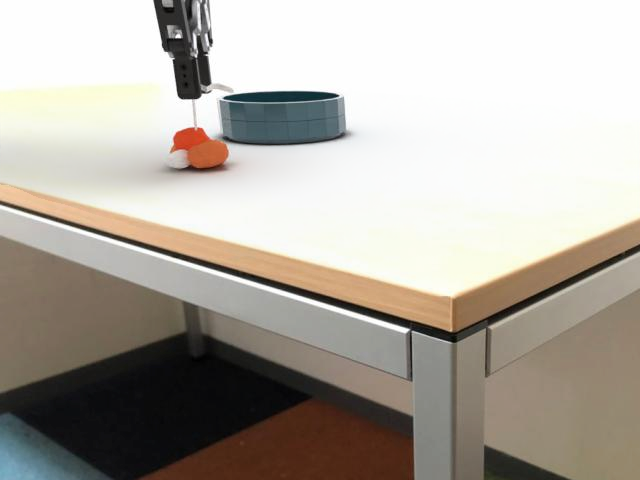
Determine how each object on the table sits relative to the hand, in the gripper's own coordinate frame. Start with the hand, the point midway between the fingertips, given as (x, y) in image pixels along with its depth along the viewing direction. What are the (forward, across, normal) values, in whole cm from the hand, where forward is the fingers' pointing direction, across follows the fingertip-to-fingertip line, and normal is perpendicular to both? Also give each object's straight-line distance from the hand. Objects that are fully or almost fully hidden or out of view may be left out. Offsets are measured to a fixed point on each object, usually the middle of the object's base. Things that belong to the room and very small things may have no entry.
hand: (195, 95), depth 76 cm
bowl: (+7, -23, +6) cm, 25 cm away
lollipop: (+8, 0, 0) cm, 8 cm away
